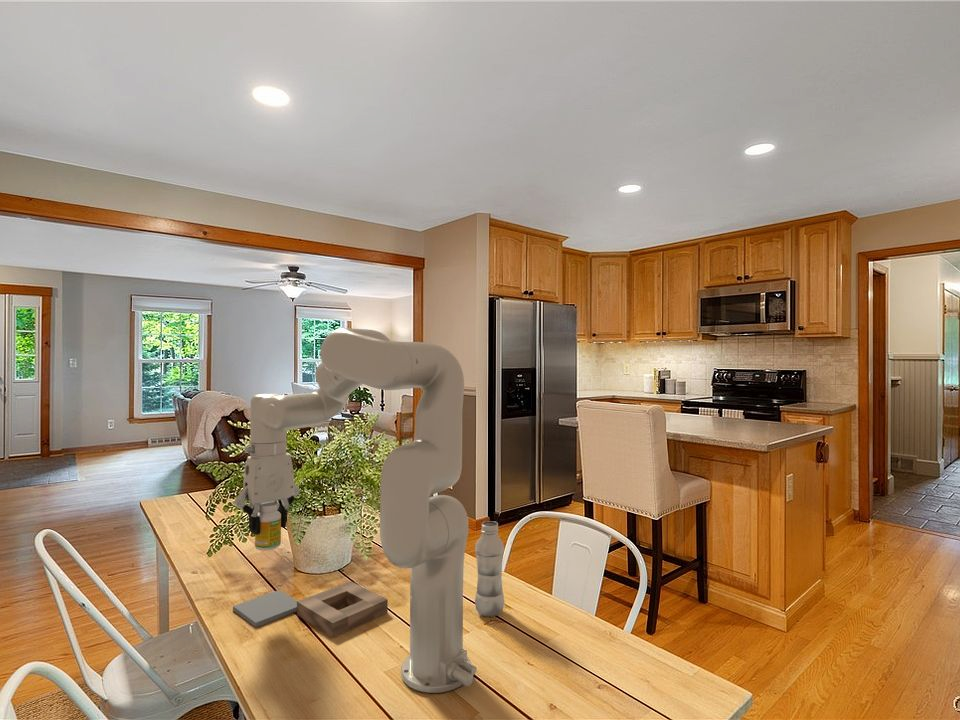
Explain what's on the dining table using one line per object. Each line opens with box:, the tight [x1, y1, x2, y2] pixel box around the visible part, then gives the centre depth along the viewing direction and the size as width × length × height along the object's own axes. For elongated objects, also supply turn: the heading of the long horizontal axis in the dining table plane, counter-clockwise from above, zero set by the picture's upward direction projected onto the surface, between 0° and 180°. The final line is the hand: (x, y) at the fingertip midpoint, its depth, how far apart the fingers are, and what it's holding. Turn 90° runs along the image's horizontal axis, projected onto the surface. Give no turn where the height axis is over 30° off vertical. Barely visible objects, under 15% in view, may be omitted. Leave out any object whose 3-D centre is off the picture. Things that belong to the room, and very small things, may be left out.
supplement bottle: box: [254, 501, 282, 551], centre depth 118 cm, size 5×5×10 cm
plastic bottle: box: [474, 520, 505, 618], centre depth 117 cm, size 6×7×20 cm
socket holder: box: [296, 581, 389, 639], centre depth 117 cm, size 14×14×3 cm
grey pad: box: [232, 589, 298, 628], centre depth 118 cm, size 11×11×1 cm
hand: (268, 528), depth 118 cm, fingers closed on supplement bottle, 5 cm apart
